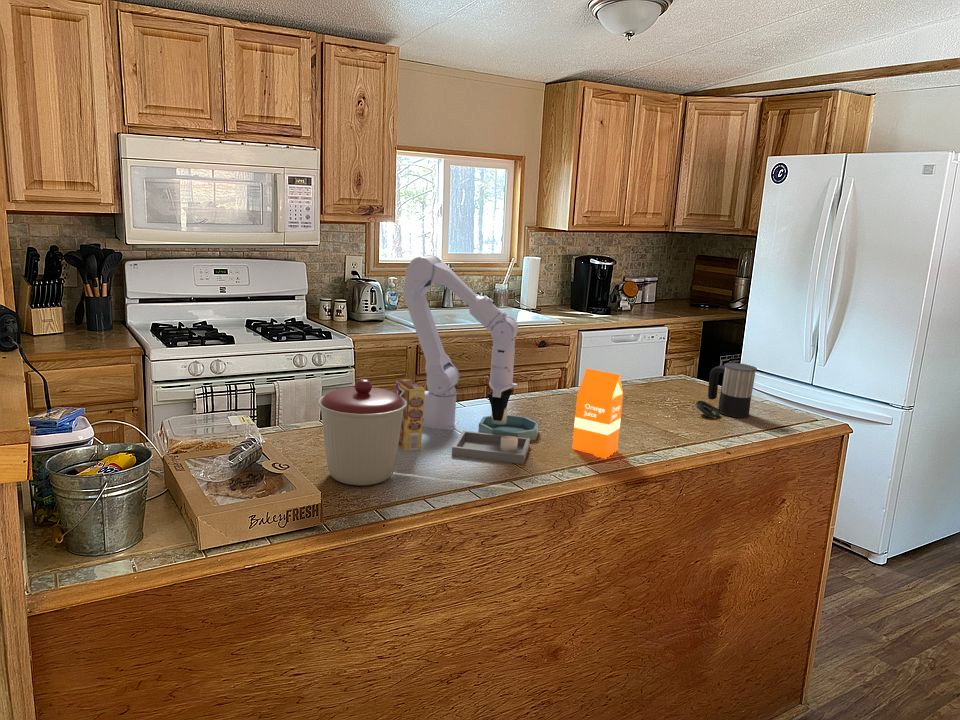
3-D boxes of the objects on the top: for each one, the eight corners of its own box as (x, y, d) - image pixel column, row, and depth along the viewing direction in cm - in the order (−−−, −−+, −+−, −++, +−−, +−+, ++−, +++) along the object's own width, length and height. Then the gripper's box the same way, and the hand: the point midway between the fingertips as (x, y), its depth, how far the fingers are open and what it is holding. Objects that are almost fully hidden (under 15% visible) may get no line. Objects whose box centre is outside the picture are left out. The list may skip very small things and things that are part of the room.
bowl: (475, 440, 181) (475, 428, 181) (484, 423, 196) (485, 412, 195) (534, 446, 179) (535, 435, 179) (539, 429, 193) (540, 418, 193)
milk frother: (753, 414, 221) (760, 366, 218) (740, 425, 208) (747, 375, 205) (706, 404, 229) (712, 358, 225) (690, 415, 216) (697, 366, 212)
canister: (408, 492, 147) (413, 391, 143) (316, 495, 143) (317, 391, 139) (399, 460, 164) (403, 369, 160) (316, 462, 161) (318, 368, 156)
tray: (451, 457, 169) (452, 447, 168) (462, 440, 181) (462, 430, 180) (523, 466, 166) (524, 455, 165) (529, 448, 178) (530, 438, 178)
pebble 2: (498, 454, 171) (499, 440, 170) (501, 448, 175) (502, 434, 174) (515, 456, 170) (516, 442, 170) (517, 450, 174) (518, 436, 173)
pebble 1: (489, 423, 186) (490, 410, 185) (492, 419, 189) (492, 406, 189) (505, 425, 185) (506, 412, 184) (507, 420, 189) (508, 407, 188)
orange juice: (605, 459, 174) (613, 377, 169) (571, 450, 178) (578, 370, 174) (617, 450, 180) (626, 371, 176) (584, 442, 185) (592, 365, 180)
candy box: (422, 451, 172) (425, 388, 168) (405, 452, 170) (408, 389, 166) (409, 439, 179) (411, 378, 176) (392, 440, 177) (394, 379, 174)
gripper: (514, 373, 176) (510, 427, 179) (521, 361, 190) (517, 411, 193) (485, 370, 177) (482, 424, 180) (494, 358, 191) (491, 408, 194)
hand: (498, 417), depth 187 cm, fingers closed on pebble 1, 4 cm apart
